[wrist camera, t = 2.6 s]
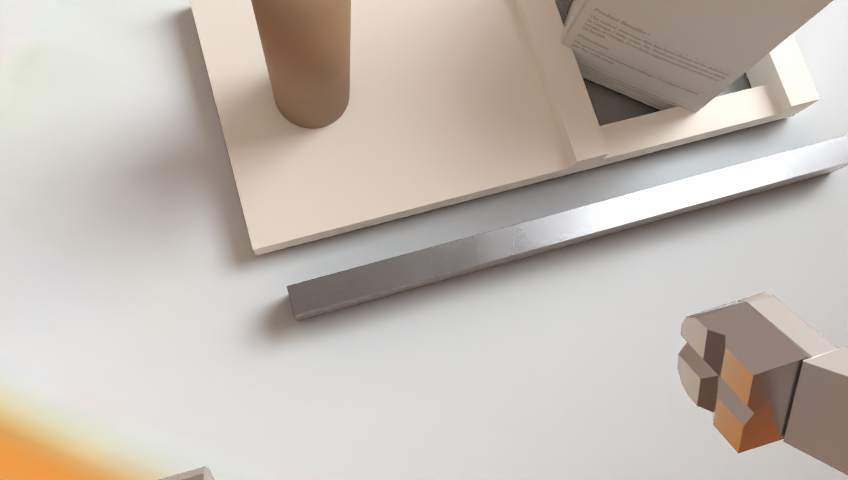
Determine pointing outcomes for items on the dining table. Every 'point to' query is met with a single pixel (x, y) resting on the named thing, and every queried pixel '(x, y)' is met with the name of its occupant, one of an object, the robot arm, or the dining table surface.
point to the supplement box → (678, 44)
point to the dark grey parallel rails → (562, 229)
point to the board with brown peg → (426, 107)
